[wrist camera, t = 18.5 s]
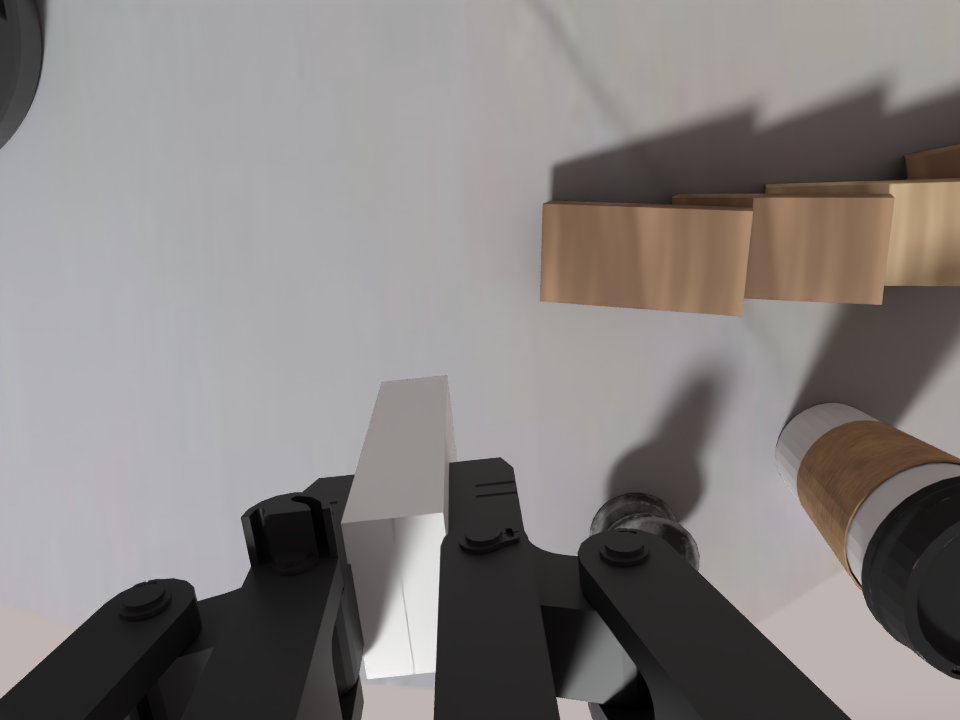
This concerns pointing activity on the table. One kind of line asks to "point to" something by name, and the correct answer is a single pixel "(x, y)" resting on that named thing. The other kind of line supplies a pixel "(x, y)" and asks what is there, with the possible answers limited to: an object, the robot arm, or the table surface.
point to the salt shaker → (646, 522)
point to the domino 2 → (813, 244)
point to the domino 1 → (646, 256)
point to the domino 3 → (934, 164)
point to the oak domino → (909, 226)
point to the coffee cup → (884, 520)
